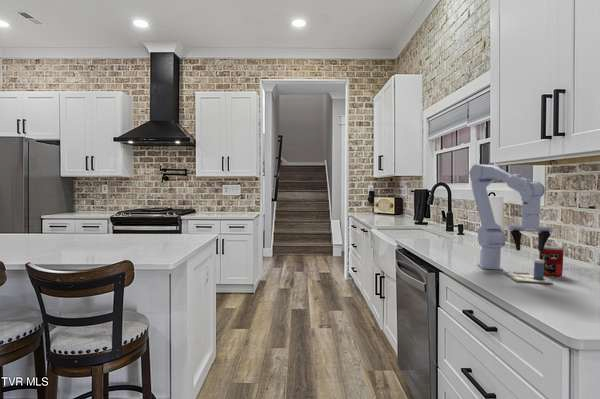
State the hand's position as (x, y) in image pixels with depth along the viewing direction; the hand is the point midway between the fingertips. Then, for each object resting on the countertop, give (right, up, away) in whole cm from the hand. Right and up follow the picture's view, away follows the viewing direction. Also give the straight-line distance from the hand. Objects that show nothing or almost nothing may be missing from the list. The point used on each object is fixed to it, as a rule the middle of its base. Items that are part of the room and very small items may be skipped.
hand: (529, 250), depth 147 cm
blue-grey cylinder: (+1, -10, -4) cm, 11 cm away
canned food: (+12, -11, +7) cm, 18 cm away
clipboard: (-2, -10, -1) cm, 10 cm away
